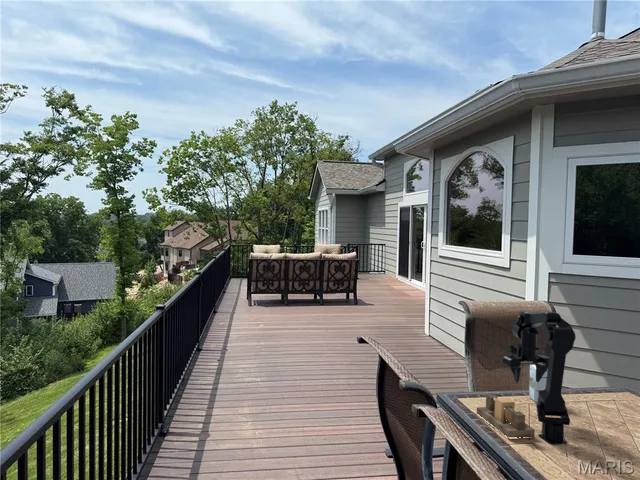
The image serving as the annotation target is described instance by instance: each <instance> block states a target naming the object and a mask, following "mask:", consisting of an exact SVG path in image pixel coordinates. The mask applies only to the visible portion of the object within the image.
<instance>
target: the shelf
mask: <svg viewBox="0 0 640 480" xmlns="http://www.w3.org/2000/svg"><path fill="white" fill-rule="evenodd" d="M495 398H499V397H498V396H497V395H495V394H486V395H485V406H479V407H477V406H476V415H477V414H479V415H480V416H481V417H483V418H484V419H485V420H486V421H488V422H489V423H490V424H492V425H493V426H494V427H496V428H497V429H498V430H500V431H501V432H502V433H503V434H504V435H506V436H507V437H517V438H519V437H521V438H523V437H534V438H535V433H536V432H535V430H536V429H535V428H534V427H532V426H530V425H528V424H527V423H526V414H524V413H523V412H521V411H520V410H519V411H516V410H515V409H514V410H513V409H512V408H510V407H509V406H506V407H504V418H503V419H505V408H506V409H507V410H509V411H510V412H512V423H511V422H509V421H508V420H507V419H505V420H504V421H506V420H507V421H508V422H509V423H508V422H507V421H506V422H507V423H504V422H503V423H501V422H500V421H499V420H497V419H496V418H494V414H495ZM510 423H511V424H510Z"/></svg>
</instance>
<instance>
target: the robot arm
mask: <svg viewBox="0 0 640 480" xmlns="http://www.w3.org/2000/svg"><path fill="white" fill-rule="evenodd" d="M542 324H543V328H542V330H541V331H542V333H543V335H544V337H545V343H546V345H547V346H548V347H547V348H548V349H549V356H547V355H544V354H537V352H538V351H539V349H540V347H539V346H537V344H538V342H537V341H538V335H539V331H538V330H537V329H536V328H537V327H540V326H542ZM549 324H550V325H556V326H548V325H549ZM511 332H512V334H513V336H515V337H516V338H518V339H519V340H520V343H518V345H517V347H515V346H514V345H507V348H506V350H507V354H508V355H504V356H503V358H502V364H505V365H506V367H509V369H510V370H511V373H512V376H513V379H514V381H515V383H516V384H518V383H519V381H520V377H521V372H522V371H521V369H522V367H520V366H521V364H534V365H535V366H536V382H539V381H540V379H541V378H542V376H543V375H544V373H545V372H546V371H547V369H548V371H547V379H546V387H545V389H544V390H540V391H539V395H538V401H537V402H536V412H537V413H536V414H537V415H536V416H537V419H538V422H539V423H541V433H538V437H539V438H540V439H542V440H543V441H545V442H546V443H548V444H549V445H562V444H567V443H568V441H567V440H565V439H564V434H565V433H564V431H565V430H564V429H565V426H570V422H571V419H570V416H569V413H568V410H567V407H566V401H565V399H564V397H563V395H562V388H563V380H564V374H565V366H566V359H567V355H568V354H569V352H570V351H571V350H573V348H574V344H575V341H576V333H575V331H574V330H573V327H572V325H571V324H570V322H568V321H566V320H565V319H563V318H562V317H561V314H560V313H558V312H553V311H549V312H548V311H545V312H539V311H526V310H525V311H524V310H522V311H520V312H519V313H518V315H517V318H516V320H515V321H514V325H513V327H512V328H511Z"/></svg>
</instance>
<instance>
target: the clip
mask: <svg viewBox="0 0 640 480" xmlns="http://www.w3.org/2000/svg"><path fill="white" fill-rule="evenodd" d="M506 406H509V407H510V408H512V409H513V410H515V406H516V402H515V401H514V400H512V399H510V398H509V397H498V398H495V414H494V418H496V419H497V420H499V421H500V422H501V423H503V424H504V420H503V418H504V409H505V419H507V420H508V421H509V422H511V423H512V412H510V411H509V410H507V409H506V408H504V407H506Z"/></svg>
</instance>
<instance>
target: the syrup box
mask: <svg viewBox="0 0 640 480" xmlns="http://www.w3.org/2000/svg"><path fill="white" fill-rule="evenodd" d="M547 371H548V369H547ZM547 371H546V372H545V373H544V375H543V376H542V378H541V379H540V381H539V382H536V366H535V364H529V383H528V384H529V386H528V387H529V388H528V389H529V391H528V398H529V399H531V400H532V401H533V402H534V403H537V401H538V395H539V391H540V390H544V389H545V387H546V379H547Z"/></svg>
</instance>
